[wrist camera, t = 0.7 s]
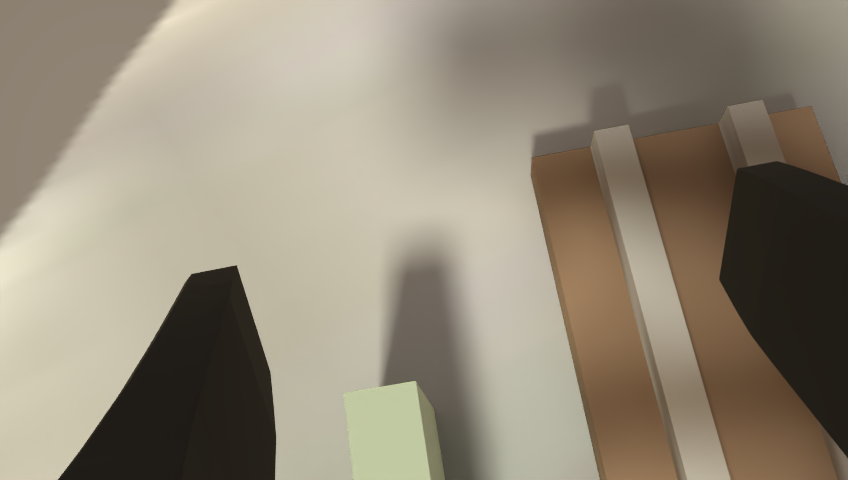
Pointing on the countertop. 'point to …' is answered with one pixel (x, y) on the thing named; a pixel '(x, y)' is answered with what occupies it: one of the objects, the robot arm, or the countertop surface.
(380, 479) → the pale green rectangular block
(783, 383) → the track board
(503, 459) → the countertop surface
